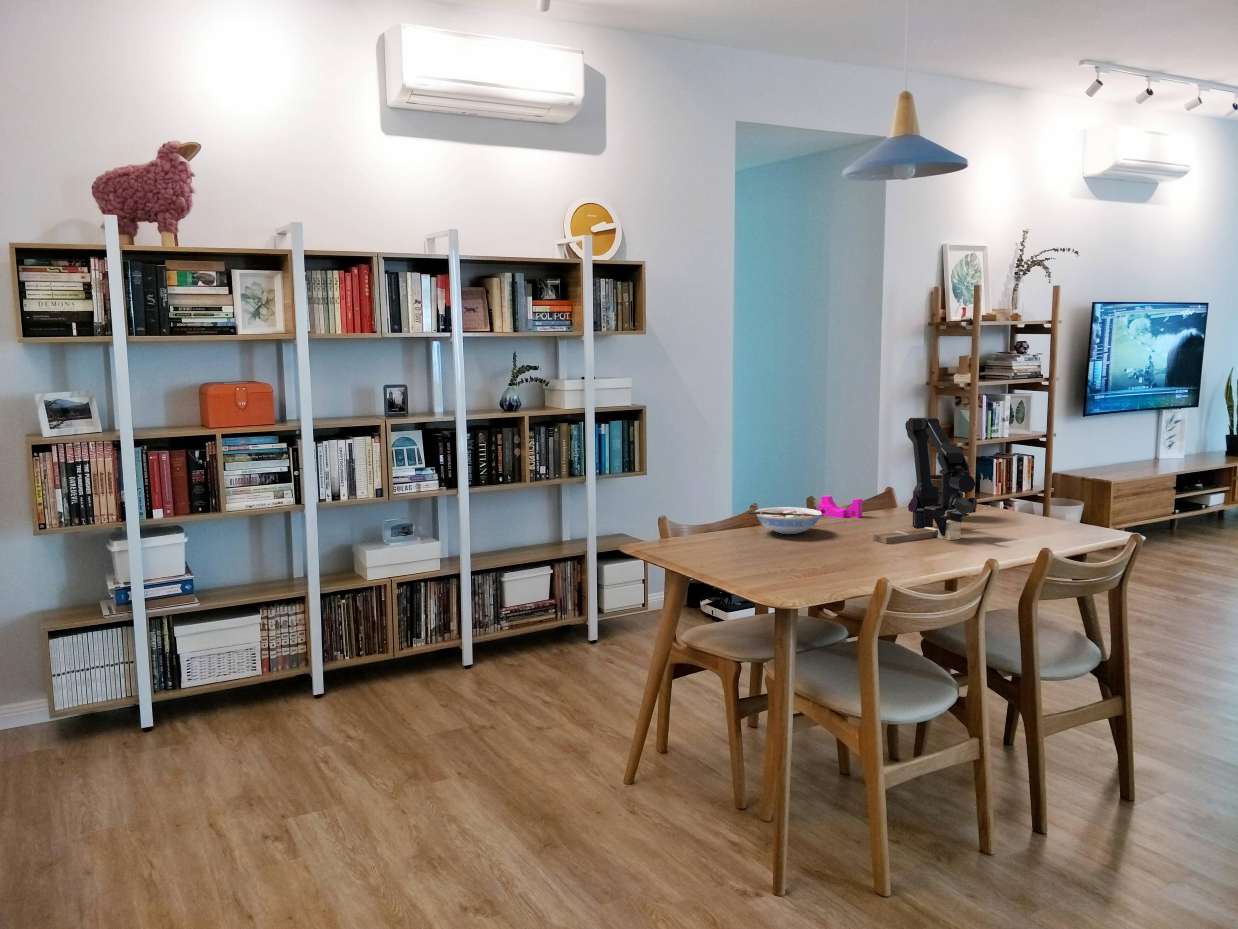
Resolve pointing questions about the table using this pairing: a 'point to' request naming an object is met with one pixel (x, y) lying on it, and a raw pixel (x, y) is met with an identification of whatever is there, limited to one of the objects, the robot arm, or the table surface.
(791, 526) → the ramen bowl
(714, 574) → the table surface
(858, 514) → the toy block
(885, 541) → the walnut plank
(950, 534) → the cream cube
